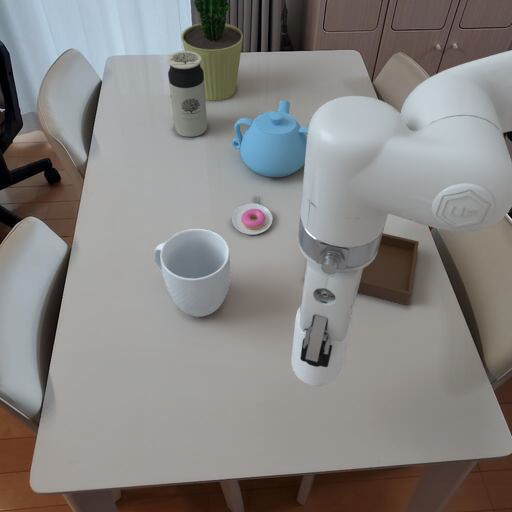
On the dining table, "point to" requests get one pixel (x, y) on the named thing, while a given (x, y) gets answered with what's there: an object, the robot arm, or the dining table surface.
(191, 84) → the travel mug
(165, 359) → the dining table surface
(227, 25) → the potted cactus
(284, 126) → the teapot
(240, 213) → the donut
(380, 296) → the tray
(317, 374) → the can
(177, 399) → the dining table surface
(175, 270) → the mug
